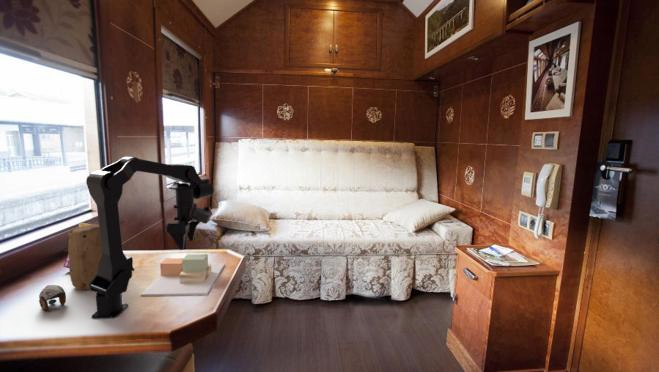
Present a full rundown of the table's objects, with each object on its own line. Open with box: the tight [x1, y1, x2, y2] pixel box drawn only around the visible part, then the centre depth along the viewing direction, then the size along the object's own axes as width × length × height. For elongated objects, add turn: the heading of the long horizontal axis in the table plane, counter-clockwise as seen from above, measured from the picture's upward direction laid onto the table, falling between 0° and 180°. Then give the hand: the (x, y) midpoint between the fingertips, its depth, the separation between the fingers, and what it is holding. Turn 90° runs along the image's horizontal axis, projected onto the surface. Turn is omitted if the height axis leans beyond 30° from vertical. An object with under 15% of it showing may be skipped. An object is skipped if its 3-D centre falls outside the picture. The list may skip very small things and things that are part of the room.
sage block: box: [182, 253, 209, 272], centre depth 112 cm, size 5×7×4 cm
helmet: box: [38, 284, 67, 312], centre depth 91 cm, size 6×8×7 cm
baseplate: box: [140, 263, 225, 297], centre depth 113 cm, size 24×20×1 cm
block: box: [67, 223, 102, 291], centre depth 105 cm, size 11×8×20 cm
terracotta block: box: [159, 257, 184, 276], centre depth 116 cm, size 5×7×4 cm
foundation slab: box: [179, 263, 212, 283], centre depth 113 cm, size 9×8×3 cm
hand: (186, 244), depth 112 cm, fingers open, 9 cm apart
